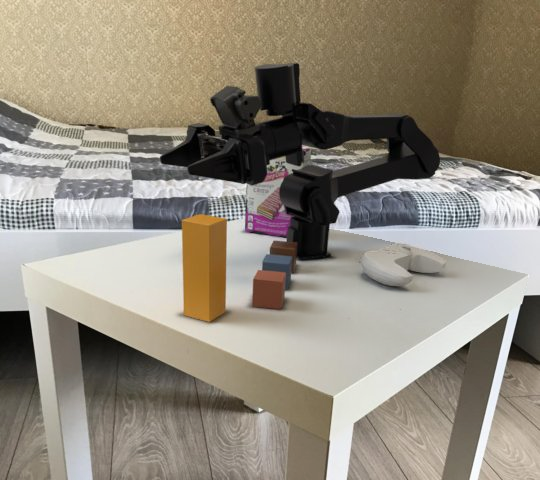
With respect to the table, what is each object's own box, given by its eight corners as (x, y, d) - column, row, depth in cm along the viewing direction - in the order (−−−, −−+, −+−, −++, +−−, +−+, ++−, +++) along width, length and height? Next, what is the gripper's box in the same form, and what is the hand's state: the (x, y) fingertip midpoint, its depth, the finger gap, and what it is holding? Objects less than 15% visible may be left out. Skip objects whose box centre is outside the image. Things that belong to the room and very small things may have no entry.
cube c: (256, 296, 83) (257, 269, 81) (284, 299, 82) (286, 272, 80) (252, 306, 79) (253, 278, 77) (280, 309, 79) (282, 281, 77)
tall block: (200, 305, 78) (200, 213, 73) (225, 312, 77) (227, 218, 71) (183, 315, 75) (181, 219, 69) (209, 322, 74) (209, 225, 68)
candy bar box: (243, 232, 113) (246, 143, 105) (252, 226, 117) (255, 141, 110) (298, 240, 110) (304, 149, 102) (305, 233, 114) (312, 146, 107)
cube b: (265, 278, 89) (266, 253, 88) (290, 281, 89) (292, 256, 87) (261, 287, 86) (262, 261, 84) (287, 290, 85) (289, 264, 84)
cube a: (272, 263, 96) (273, 240, 94) (296, 265, 96) (297, 242, 94) (268, 271, 93) (270, 246, 91) (293, 273, 92) (295, 249, 90)
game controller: (406, 275, 84) (354, 245, 89) (396, 300, 87) (346, 270, 92) (454, 257, 94) (404, 231, 99) (444, 280, 96) (396, 254, 101)
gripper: (227, 80, 91) (136, 99, 84) (296, 88, 77) (193, 111, 71) (236, 153, 97) (152, 175, 91) (302, 172, 83) (207, 199, 77)
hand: (173, 165), depth 82 cm, fingers open, 9 cm apart
